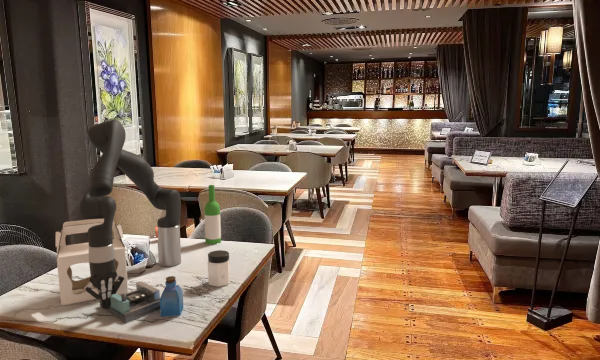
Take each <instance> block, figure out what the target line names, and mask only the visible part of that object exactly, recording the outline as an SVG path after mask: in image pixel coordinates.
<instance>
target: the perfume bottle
mask: <svg viewBox="0 0 600 360" xmlns="http://www.w3.org/2000/svg"><path fill="white" fill-rule="evenodd" d="M176 279H177V278H176V276H173V275H170V276H167V277H165V280H166V281H165V287H164V289H163V291H162V293H161V294H160V295H161V296H160V310H159V311H160V317H161V318H162V317H181V315H182V313H183V310H184V292H183V289H182V287H181V286H180V285H179V284H177V280H176Z"/></svg>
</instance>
